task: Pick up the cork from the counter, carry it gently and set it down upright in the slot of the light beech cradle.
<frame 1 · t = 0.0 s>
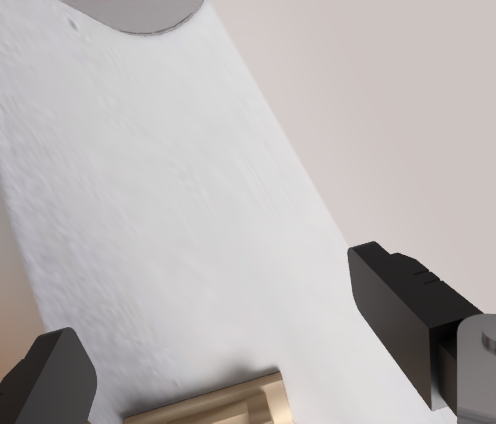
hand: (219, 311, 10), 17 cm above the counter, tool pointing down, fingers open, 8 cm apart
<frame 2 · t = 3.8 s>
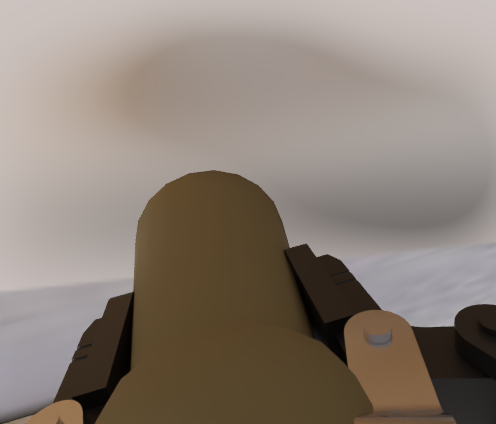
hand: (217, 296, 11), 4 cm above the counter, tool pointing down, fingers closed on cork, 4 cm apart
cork: (211, 240, 14), on the counter, touching gripper
when the fingers open (6 cm above the counter, at t = 9.0 s): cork drops 1 cm, resting on cradle.
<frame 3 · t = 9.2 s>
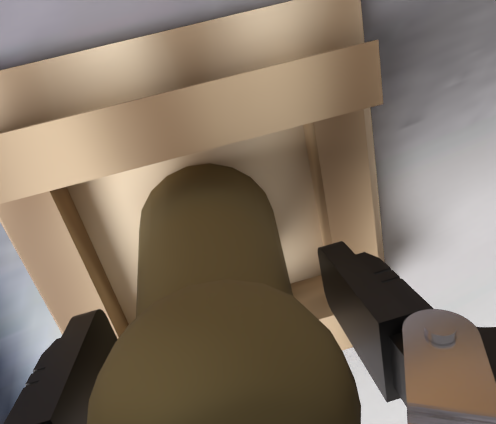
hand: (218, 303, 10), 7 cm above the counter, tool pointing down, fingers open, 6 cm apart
cradle: (208, 220, 17), on the counter
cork: (208, 228, 16), point 1 cm above the counter, touching cradle
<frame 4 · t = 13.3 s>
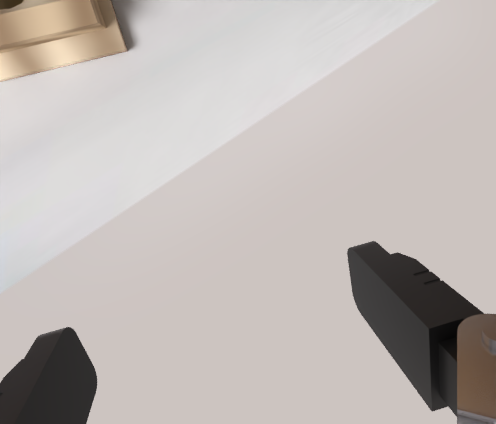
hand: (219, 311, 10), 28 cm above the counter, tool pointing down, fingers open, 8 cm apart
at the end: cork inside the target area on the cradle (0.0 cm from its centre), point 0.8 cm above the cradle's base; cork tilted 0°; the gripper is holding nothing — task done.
